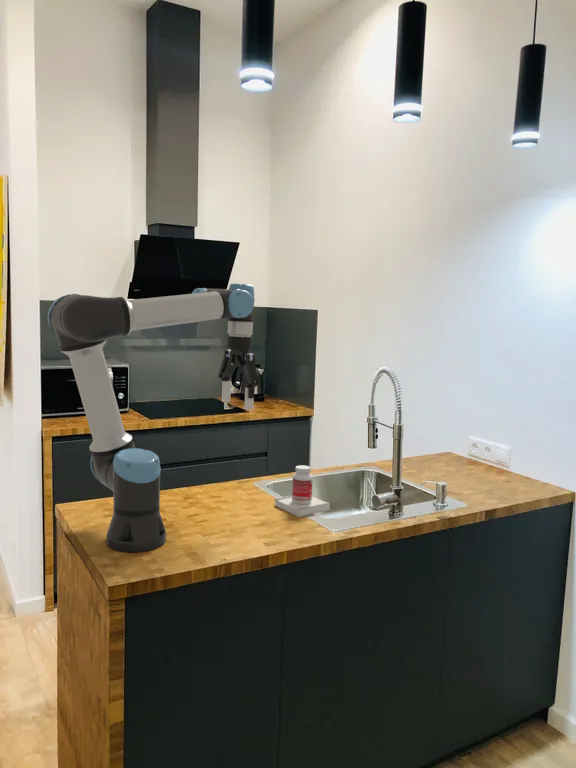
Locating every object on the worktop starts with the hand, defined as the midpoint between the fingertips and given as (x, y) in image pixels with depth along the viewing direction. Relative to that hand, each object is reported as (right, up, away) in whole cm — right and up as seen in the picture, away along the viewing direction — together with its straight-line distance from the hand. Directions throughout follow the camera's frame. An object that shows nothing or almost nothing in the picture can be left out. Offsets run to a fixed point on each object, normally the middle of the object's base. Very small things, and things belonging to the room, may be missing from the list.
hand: (237, 405), depth 194 cm
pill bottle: (+20, -30, +3) cm, 36 cm away
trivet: (+20, -32, +3) cm, 38 cm away
